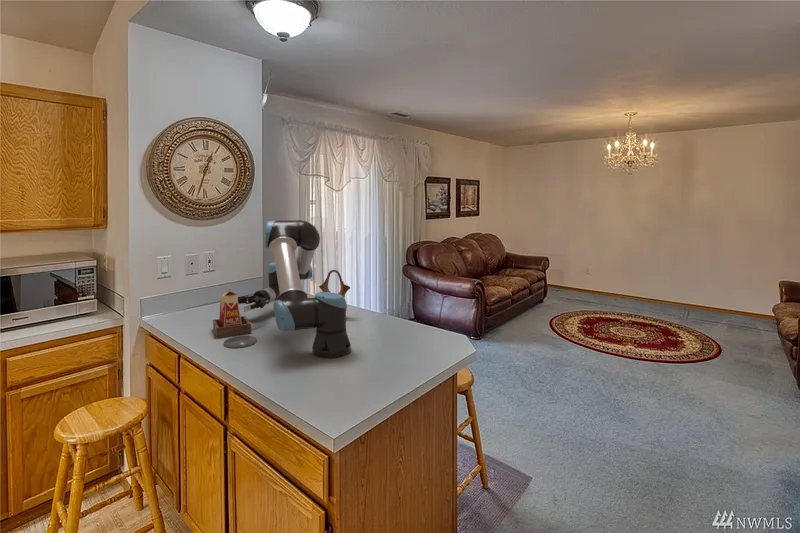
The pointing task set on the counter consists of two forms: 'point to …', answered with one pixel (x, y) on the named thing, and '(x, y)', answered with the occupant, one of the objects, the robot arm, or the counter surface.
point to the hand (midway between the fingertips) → (232, 307)
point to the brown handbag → (343, 287)
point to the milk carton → (229, 310)
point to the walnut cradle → (232, 329)
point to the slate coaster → (240, 341)
